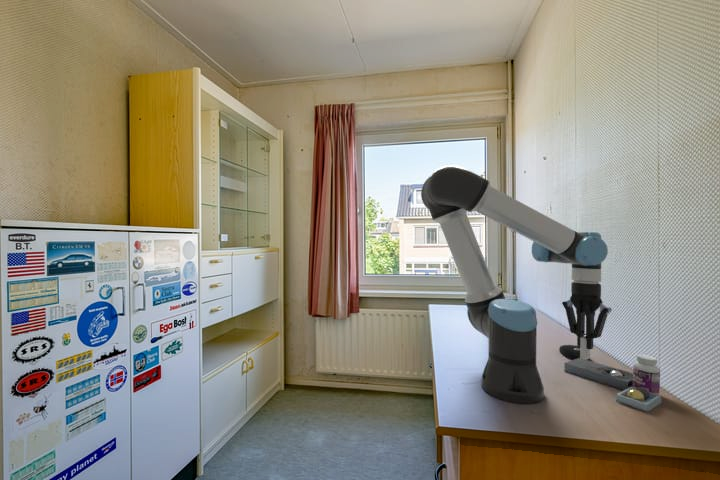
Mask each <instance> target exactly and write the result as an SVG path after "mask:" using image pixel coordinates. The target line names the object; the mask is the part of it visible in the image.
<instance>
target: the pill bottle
mask: <svg viewBox="0 0 720 480" xmlns="http://www.w3.org/2000/svg"><path fill="white" fill-rule="evenodd" d="M657 364H658V359H657V358H656V357H654V356H651V355H648V354H637V355H636V361H635V362H634V363H633V364H632V365H633V366H632V369H633V370H632V373H633V387H635V388H638V387H642V388H645V389H646V390H647V391H648V392H651V393H654V394H657V395H660V384H661V383H660V382H661V370H660V368H659V367H658V365H657Z"/></svg>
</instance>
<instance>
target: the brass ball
mask: <svg viewBox="0 0 720 480" xmlns="http://www.w3.org/2000/svg"><path fill="white" fill-rule="evenodd" d="M627 396H628V398H631V399H634V400H637V401H640V402H643V401H644V396H643V394H642V393H641V392H640V391H639V390H636V389H630V390H629V391H628V392H627Z"/></svg>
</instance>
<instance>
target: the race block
mask: <svg viewBox="0 0 720 480" xmlns="http://www.w3.org/2000/svg"><path fill="white" fill-rule="evenodd" d="M614 370H616V371H619V372H620V373H622V375H623V376H615V375H611V374H610V372H611V371H614ZM564 372H567V373H570V374H573V375H577V376H579V377H582V378H584V379H589V380H591V381H595V382H598V383H601V384H604V385H607V386H610V387H613V388H615V389H619V390H622V391H624V390H626V389H628V388H630V387H633V372H630V371H627V370H622V369H619V368H616V367H613V366H609V365H604V364H602V363H598V362H594V361H591V360H589V361H588V360H584V359H580V358H577V359H575V360H568V361H566V362H564Z"/></svg>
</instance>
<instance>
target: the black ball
mask: <svg viewBox="0 0 720 480" xmlns="http://www.w3.org/2000/svg"><path fill="white" fill-rule="evenodd" d="M636 390H639V391H640V392H641V393H642V394H643V396H644V399H648V398H649V392H648V391H647V390H646V389H645V388H642V387H638V388H636Z"/></svg>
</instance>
